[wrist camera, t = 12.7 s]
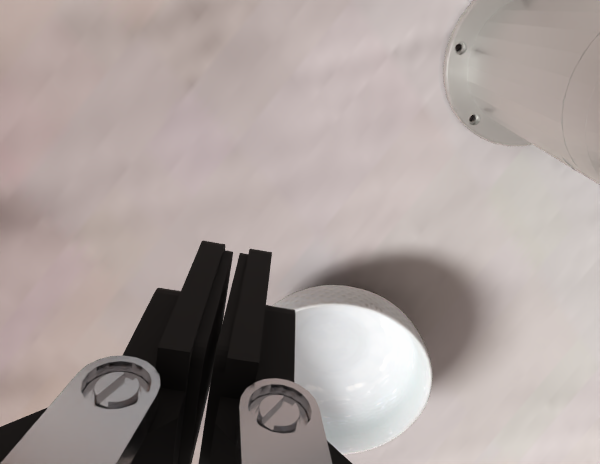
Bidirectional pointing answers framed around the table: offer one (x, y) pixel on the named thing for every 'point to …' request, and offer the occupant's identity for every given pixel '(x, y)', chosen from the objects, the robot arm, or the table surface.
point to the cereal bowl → (359, 364)
